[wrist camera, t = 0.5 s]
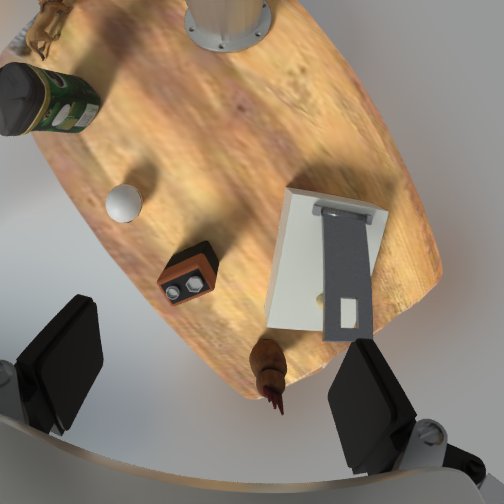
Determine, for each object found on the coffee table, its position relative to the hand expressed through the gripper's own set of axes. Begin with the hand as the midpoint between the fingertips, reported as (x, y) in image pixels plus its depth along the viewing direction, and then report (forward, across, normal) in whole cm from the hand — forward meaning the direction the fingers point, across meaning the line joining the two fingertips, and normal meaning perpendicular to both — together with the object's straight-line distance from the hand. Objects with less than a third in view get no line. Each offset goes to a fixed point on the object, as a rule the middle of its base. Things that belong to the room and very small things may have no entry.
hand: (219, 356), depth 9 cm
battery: (+34, +5, +10) cm, 36 cm away
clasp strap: (+22, -14, +4) cm, 26 cm away
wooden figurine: (+35, -10, +26) cm, 44 cm away
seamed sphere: (+34, +15, +3) cm, 37 cm away
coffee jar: (+33, +28, -12) cm, 45 cm away
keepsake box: (+34, -14, +6) cm, 37 cm away
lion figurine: (+33, +39, -29) cm, 59 cm away
